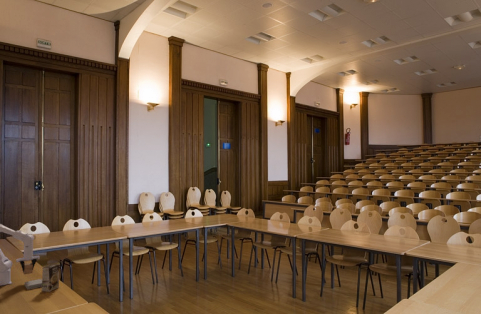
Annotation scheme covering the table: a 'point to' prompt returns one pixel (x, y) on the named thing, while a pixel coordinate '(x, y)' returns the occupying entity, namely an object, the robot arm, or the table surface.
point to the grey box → (33, 284)
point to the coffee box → (50, 277)
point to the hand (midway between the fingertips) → (27, 270)
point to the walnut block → (28, 268)
